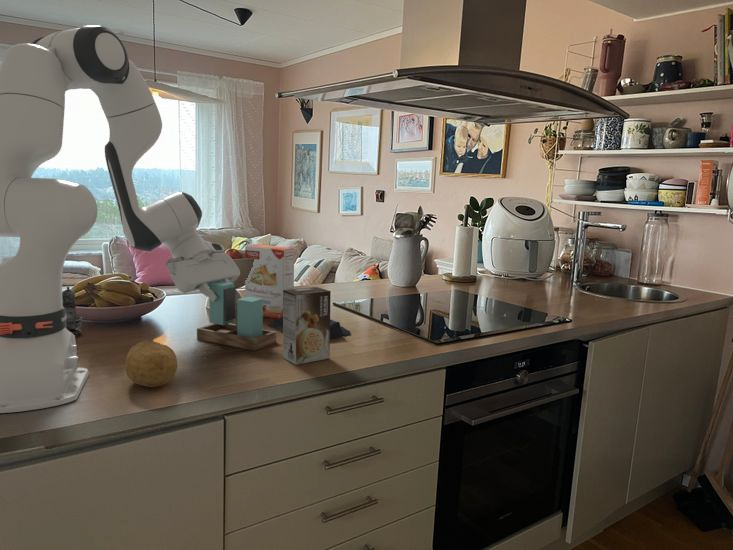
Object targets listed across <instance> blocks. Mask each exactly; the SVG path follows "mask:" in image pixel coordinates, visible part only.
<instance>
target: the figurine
mask: <svg viewBox="0 0 733 550" xmlns="http://www.w3.org/2000/svg"><path fill="white" fill-rule="evenodd" d="M62 305H63V307H64V308H65V312H66V317H67V318H66V329H67V330H68V331H69V332H71V333H72V334H76V333H80V332H81V333H82V332H83V331H82V330H81V329H80V328H79V327H80V326H81V324H82V320H83V316H79V315H78V314H77V308H76V307H77V305H78V303H77V302H76V292H75V291H74V290H72V289H71V288H70V286H67V287H66V289H65V290H62ZM81 333H80V334H81ZM76 335H77V334H76Z"/></svg>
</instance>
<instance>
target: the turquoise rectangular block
mask: <svg viewBox="0 0 733 550" xmlns="http://www.w3.org/2000/svg"><path fill="white" fill-rule="evenodd" d="M235 314H236V318H235V321H236V335H239V336H244V337H250V338H257V337H260V336H262V335H263V329H264V328H263V326H264V324H263V323H264V316H263V299H262V298H255V297H249V296H248V297H245V296H244V297H242V298H238V299H237V302H235Z"/></svg>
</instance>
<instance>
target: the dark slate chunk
mask: <svg viewBox="0 0 733 550" xmlns="http://www.w3.org/2000/svg"><path fill="white" fill-rule="evenodd" d="M268 327H270V328H272V329H275V331H276V332H277V331H279V332H280V333H282V334H283V317H282V318H279V319H275V320H272V321H271V322H270V323H268ZM349 335H351V331H350V330H348V329H347V328H345V327H344V326H342V325H341V322H340V321H336V320H333V319H330V341H332V340H338V339H341V338H343V337H347V336H349Z"/></svg>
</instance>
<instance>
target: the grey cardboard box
mask: <svg viewBox="0 0 733 550" xmlns="http://www.w3.org/2000/svg"><path fill="white" fill-rule="evenodd" d="M331 293H332V292H331V290H327V289H324V288H322V287H318V286H312V287H311V286H310V287H303V288H302V287H301V288H294V289H289V290H283V333H282V357H283V359H285V360H286V361H288V362H290V363H292V364H294V365H297V366H298V365H302V364H303V365H304V364H307V363H311V362H317V361H323V360H328V359H331V340H330V320H331Z"/></svg>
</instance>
